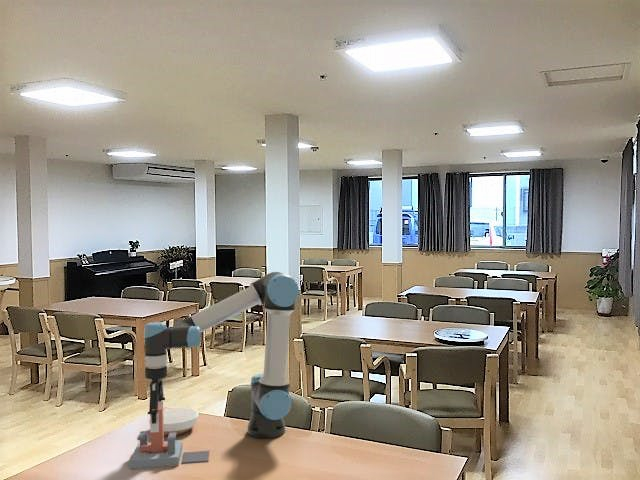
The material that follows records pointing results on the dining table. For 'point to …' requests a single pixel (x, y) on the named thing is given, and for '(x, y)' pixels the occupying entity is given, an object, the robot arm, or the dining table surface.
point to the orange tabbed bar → (157, 437)
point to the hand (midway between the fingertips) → (157, 425)
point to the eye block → (157, 459)
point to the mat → (195, 457)
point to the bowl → (178, 420)
